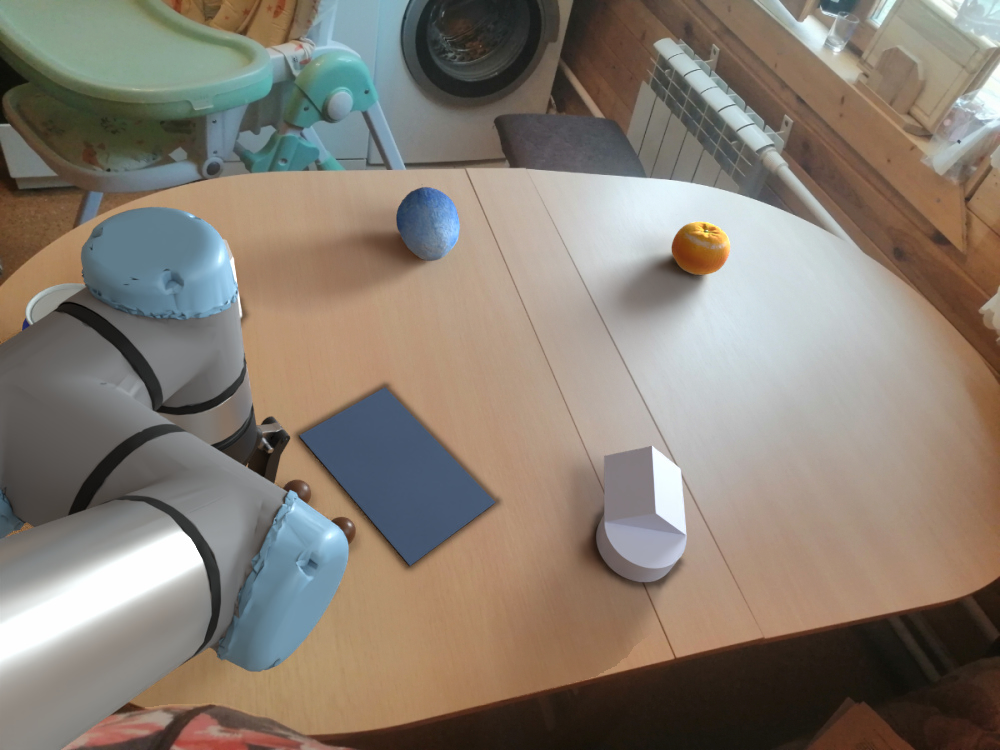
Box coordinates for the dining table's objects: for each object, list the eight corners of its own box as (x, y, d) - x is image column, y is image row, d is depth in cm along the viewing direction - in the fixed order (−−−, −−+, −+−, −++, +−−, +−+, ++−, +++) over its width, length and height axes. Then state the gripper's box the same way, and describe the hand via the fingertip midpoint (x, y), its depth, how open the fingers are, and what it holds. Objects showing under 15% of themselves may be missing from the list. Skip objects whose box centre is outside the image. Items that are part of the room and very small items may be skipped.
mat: (409, 566, 74) (409, 565, 73) (299, 436, 81) (299, 435, 81) (495, 502, 80) (495, 502, 80) (385, 387, 88) (385, 387, 88)
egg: (440, 151, 104) (453, 220, 95) (458, 195, 111) (472, 264, 102) (383, 169, 105) (391, 240, 96) (404, 212, 112) (413, 282, 103)
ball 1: (317, 488, 74) (317, 503, 76) (299, 469, 75) (300, 484, 77) (292, 504, 72) (293, 519, 75) (274, 484, 74) (276, 499, 76)
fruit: (708, 221, 115) (717, 202, 107) (734, 267, 113) (745, 251, 105) (660, 244, 115) (665, 227, 107) (685, 291, 114) (692, 276, 106)
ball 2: (366, 531, 73) (349, 552, 74) (351, 510, 75) (334, 530, 75) (347, 533, 71) (329, 554, 71) (331, 510, 72) (314, 531, 73)
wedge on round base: (596, 471, 85) (596, 574, 76) (612, 438, 80) (613, 545, 71) (670, 484, 85) (678, 588, 77) (691, 452, 80) (702, 560, 72)
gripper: (251, 337, 56) (273, 494, 73) (77, 417, 49) (148, 569, 67) (306, 400, 53) (315, 548, 71) (130, 494, 46) (190, 632, 64)
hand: (234, 558), depth 69 cm, fingers closed
